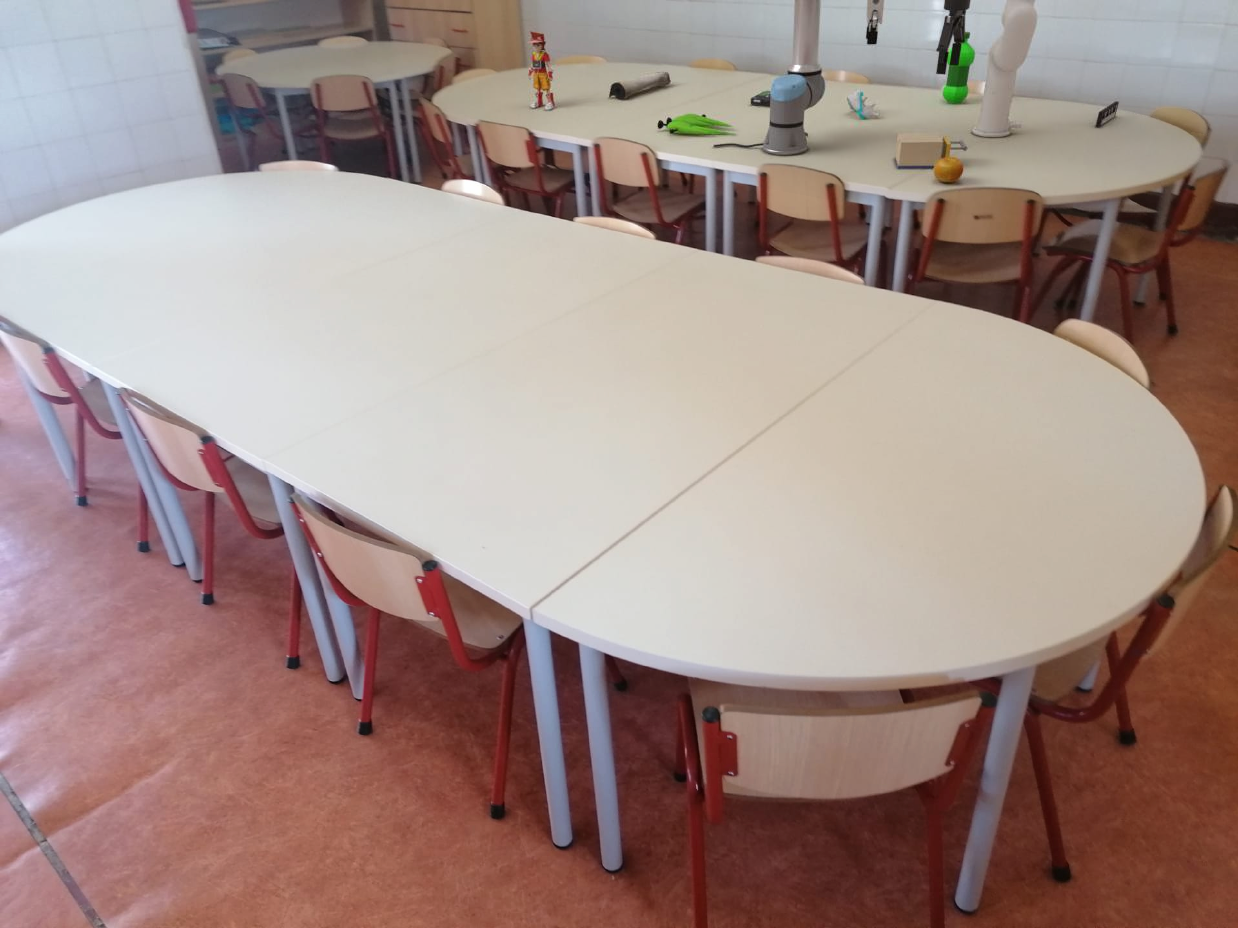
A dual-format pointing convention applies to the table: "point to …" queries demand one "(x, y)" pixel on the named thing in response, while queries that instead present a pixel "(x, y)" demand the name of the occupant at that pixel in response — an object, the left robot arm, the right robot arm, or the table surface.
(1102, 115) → the midi keyboard
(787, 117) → the left robot arm
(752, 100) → the disk drive
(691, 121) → the toy
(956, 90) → the plastic bottle
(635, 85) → the rolled mat
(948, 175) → the fruit
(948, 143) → the drawer
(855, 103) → the anatomical model
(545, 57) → the toy
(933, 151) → the cabinet
